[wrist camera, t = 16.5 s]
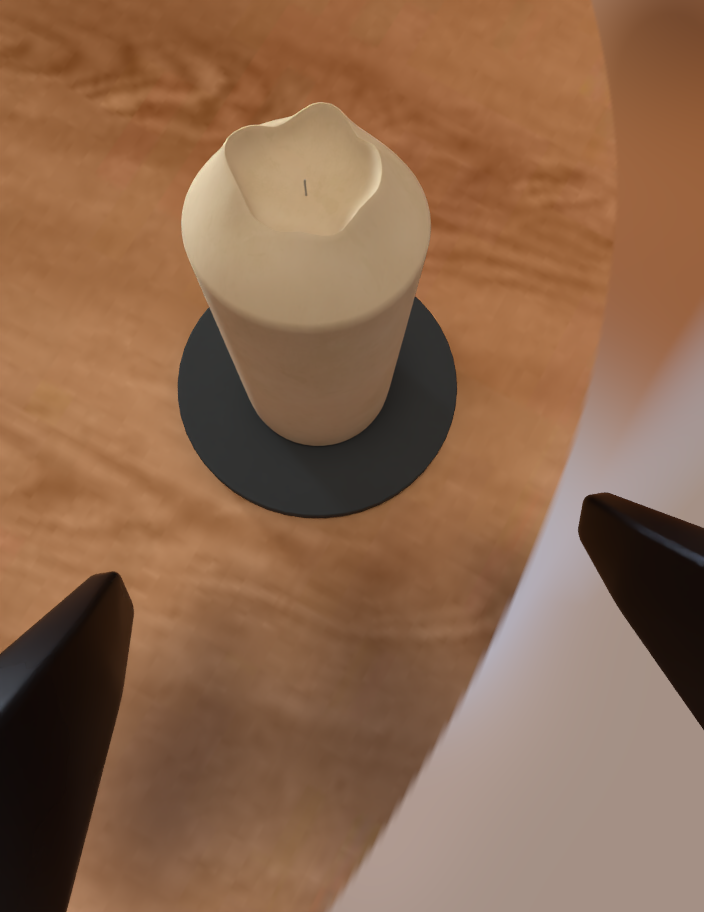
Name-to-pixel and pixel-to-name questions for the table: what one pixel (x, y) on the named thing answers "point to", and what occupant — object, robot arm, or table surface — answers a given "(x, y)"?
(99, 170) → the table surface
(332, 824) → the table surface
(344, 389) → the candle
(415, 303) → the mat
